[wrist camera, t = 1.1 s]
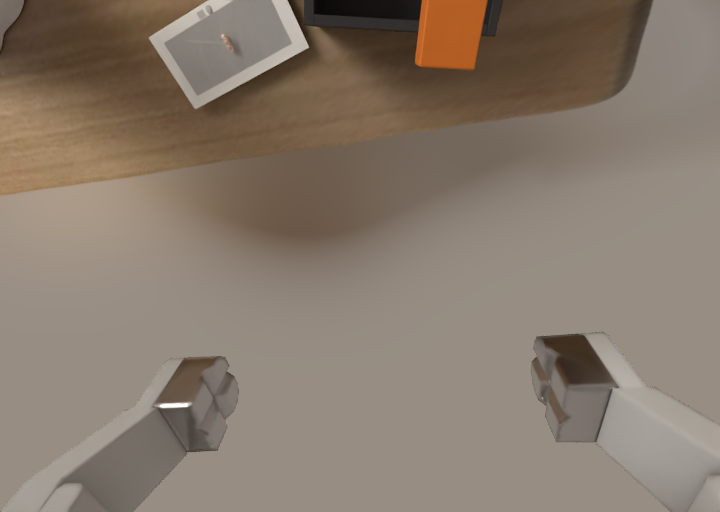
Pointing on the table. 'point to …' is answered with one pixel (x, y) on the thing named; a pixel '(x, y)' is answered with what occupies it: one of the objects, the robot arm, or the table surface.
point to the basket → (381, 15)
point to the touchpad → (227, 45)
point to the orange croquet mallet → (450, 33)
